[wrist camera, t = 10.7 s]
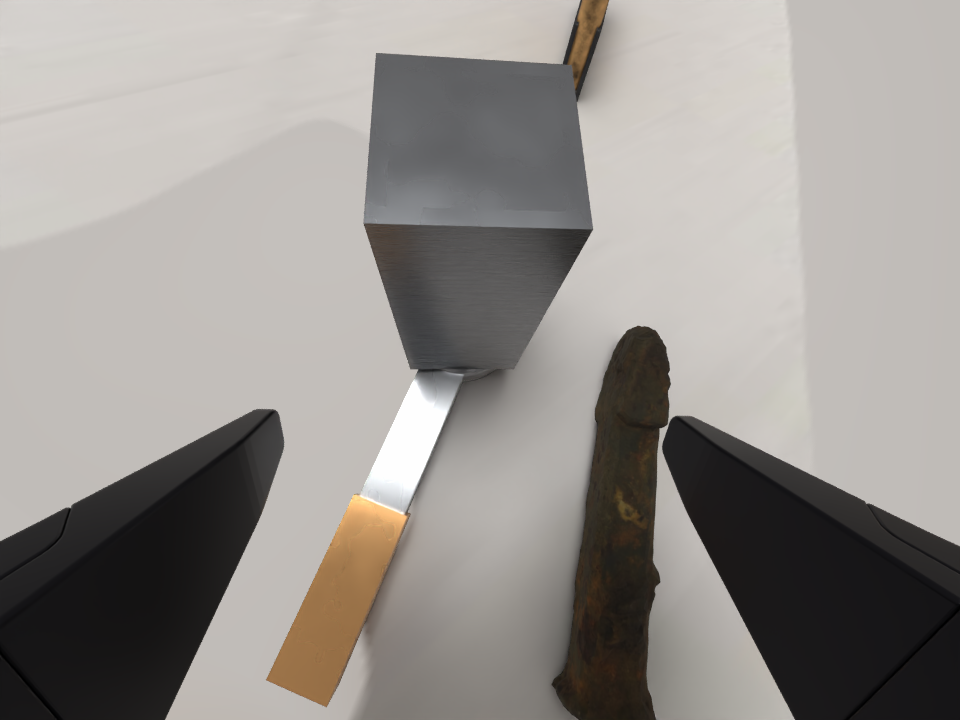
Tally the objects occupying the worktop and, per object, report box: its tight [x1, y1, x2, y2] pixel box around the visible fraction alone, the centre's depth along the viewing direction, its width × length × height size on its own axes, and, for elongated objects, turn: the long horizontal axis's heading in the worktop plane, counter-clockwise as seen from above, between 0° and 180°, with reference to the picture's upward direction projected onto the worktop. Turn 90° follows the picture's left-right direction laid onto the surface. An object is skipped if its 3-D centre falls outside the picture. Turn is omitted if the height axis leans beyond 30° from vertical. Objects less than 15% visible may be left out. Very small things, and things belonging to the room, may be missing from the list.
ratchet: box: [266, 369, 495, 707], centre depth 20 cm, size 22×6×5 cm, turn 158°
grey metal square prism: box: [364, 53, 593, 369], centre depth 16 cm, size 6×6×12 cm
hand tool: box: [552, 326, 671, 720], centre depth 20 cm, size 19×4×5 cm, turn 166°
